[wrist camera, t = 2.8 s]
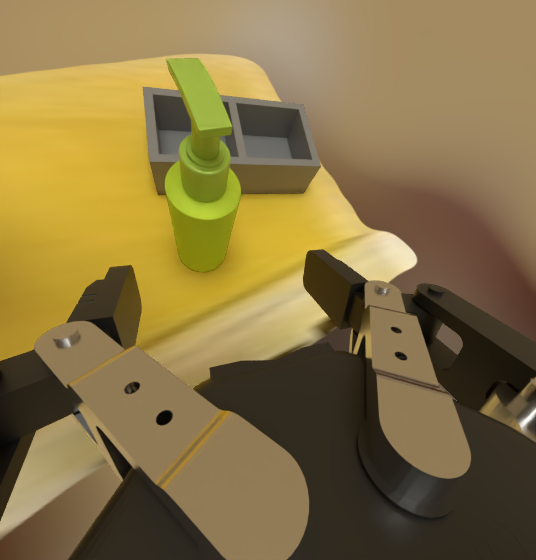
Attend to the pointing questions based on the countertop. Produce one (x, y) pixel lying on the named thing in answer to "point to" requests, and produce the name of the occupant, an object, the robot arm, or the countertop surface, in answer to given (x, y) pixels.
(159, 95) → the caddy
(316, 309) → the countertop surface
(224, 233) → the soap dispenser
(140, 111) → the countertop surface
